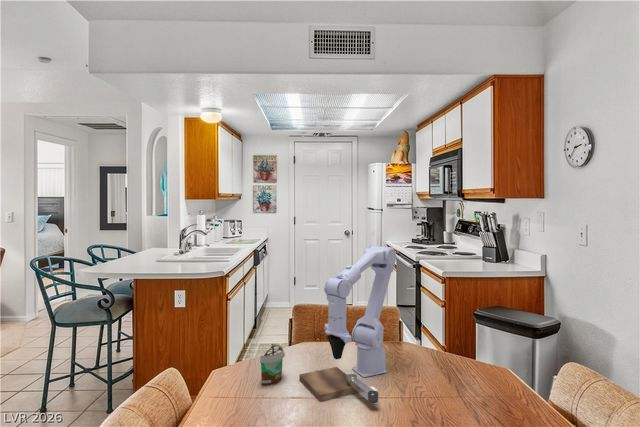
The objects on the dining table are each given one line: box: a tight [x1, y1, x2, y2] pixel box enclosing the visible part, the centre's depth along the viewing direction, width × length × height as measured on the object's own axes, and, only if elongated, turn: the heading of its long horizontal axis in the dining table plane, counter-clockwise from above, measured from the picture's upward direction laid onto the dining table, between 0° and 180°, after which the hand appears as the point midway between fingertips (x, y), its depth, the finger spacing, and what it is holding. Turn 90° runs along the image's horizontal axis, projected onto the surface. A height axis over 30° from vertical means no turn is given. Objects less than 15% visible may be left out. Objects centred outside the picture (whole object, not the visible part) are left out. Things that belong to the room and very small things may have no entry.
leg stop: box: [369, 385, 379, 405], centre depth 122 cm, size 1×3×4 cm, turn 26°
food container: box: [259, 343, 286, 386], centre depth 137 cm, size 12×6×10 cm, turn 168°
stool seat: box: [298, 366, 360, 403], centre depth 133 cm, size 14×16×2 cm
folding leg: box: [347, 373, 379, 404], centre depth 124 cm, size 15×3×2 cm, turn 26°
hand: (337, 358), depth 131 cm, fingers closed
